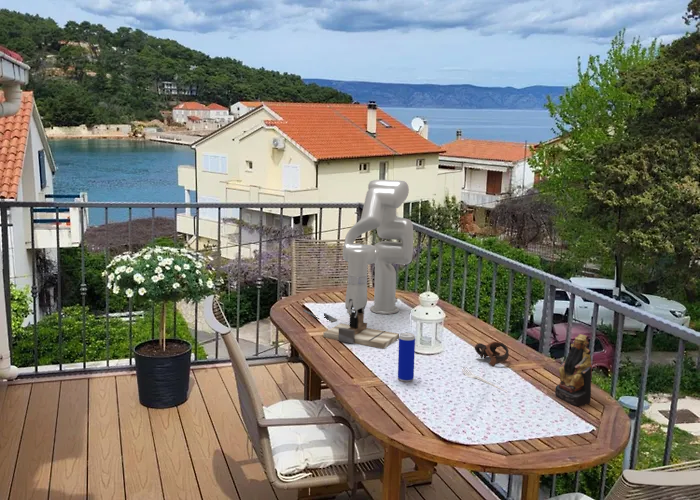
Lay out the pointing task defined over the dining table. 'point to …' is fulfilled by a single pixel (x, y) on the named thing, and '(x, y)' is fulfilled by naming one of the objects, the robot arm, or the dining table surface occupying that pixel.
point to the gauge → (352, 330)
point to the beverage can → (406, 357)
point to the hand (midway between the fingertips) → (356, 324)
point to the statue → (576, 374)
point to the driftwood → (324, 317)
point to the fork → (480, 378)
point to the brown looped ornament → (492, 352)
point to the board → (365, 336)
